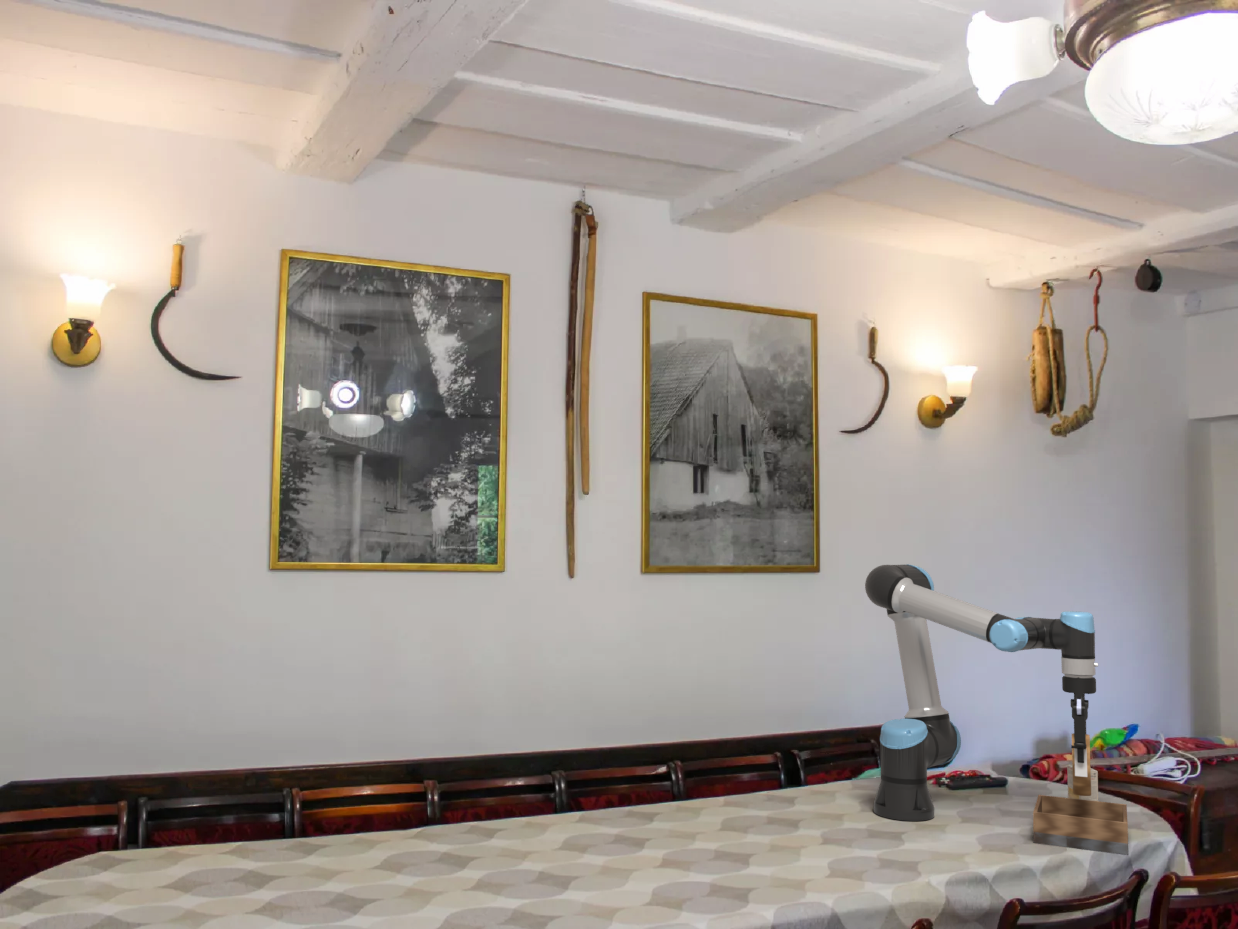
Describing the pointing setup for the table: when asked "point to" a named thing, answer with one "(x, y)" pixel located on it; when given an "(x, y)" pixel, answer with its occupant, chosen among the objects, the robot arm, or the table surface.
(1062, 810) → the box
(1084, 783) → the dowel
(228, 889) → the table surface
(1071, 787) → the supplement box
